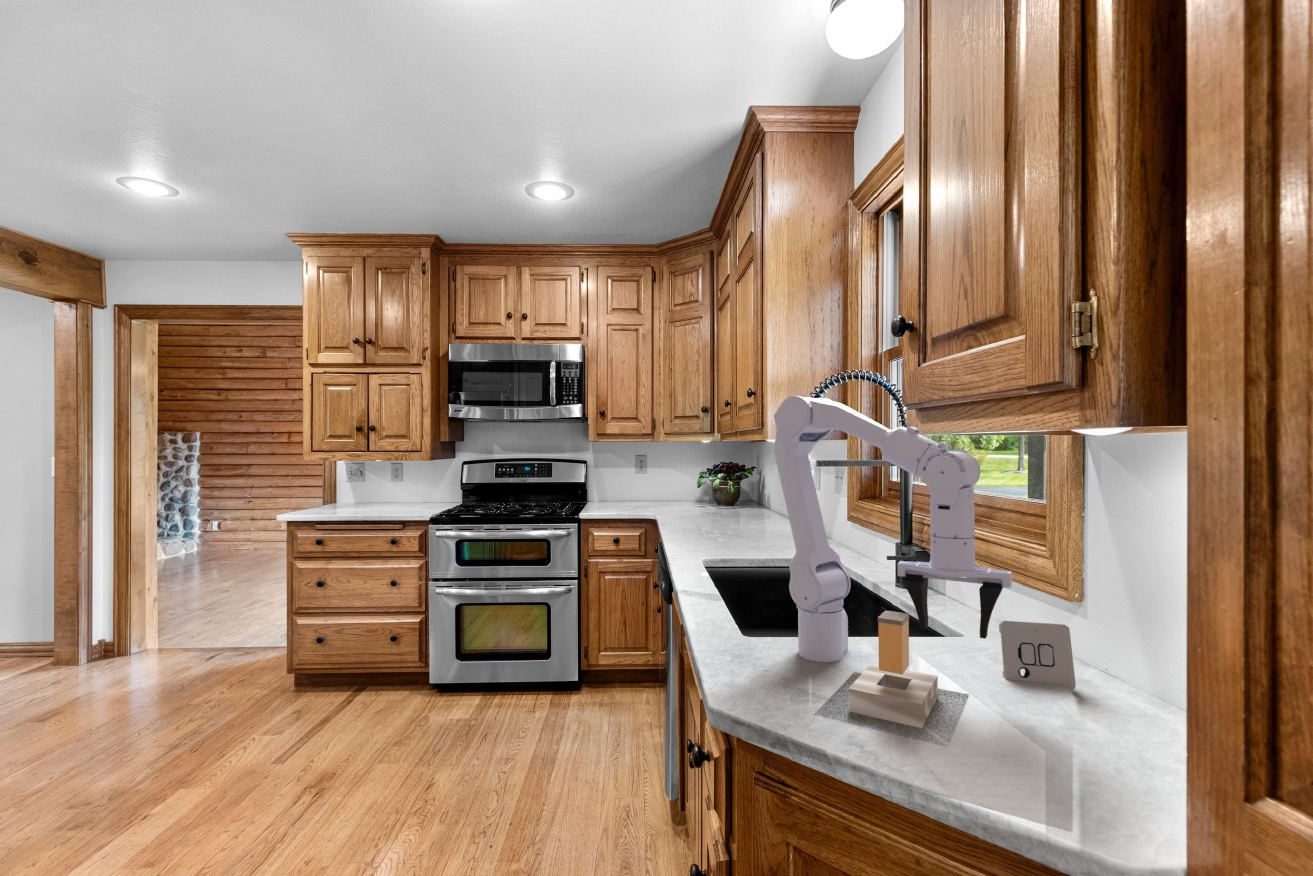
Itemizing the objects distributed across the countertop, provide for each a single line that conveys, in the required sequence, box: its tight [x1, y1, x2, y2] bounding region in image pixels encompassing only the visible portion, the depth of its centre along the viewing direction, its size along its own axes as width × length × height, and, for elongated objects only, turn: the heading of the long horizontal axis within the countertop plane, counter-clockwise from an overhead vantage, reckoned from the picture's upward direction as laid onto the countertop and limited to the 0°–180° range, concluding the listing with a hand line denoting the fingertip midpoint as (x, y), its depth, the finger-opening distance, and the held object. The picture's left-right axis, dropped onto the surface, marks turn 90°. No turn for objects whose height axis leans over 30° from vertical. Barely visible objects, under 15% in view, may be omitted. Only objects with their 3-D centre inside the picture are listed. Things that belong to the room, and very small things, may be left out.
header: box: [815, 663, 970, 748], centre depth 84 cm, size 18×16×4 cm
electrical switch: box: [998, 620, 1077, 690], centre depth 95 cm, size 9×5×9 cm, turn 74°
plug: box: [877, 610, 910, 674], centre depth 85 cm, size 4×3×7 cm
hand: (953, 632), depth 89 cm, fingers open, 7 cm apart
